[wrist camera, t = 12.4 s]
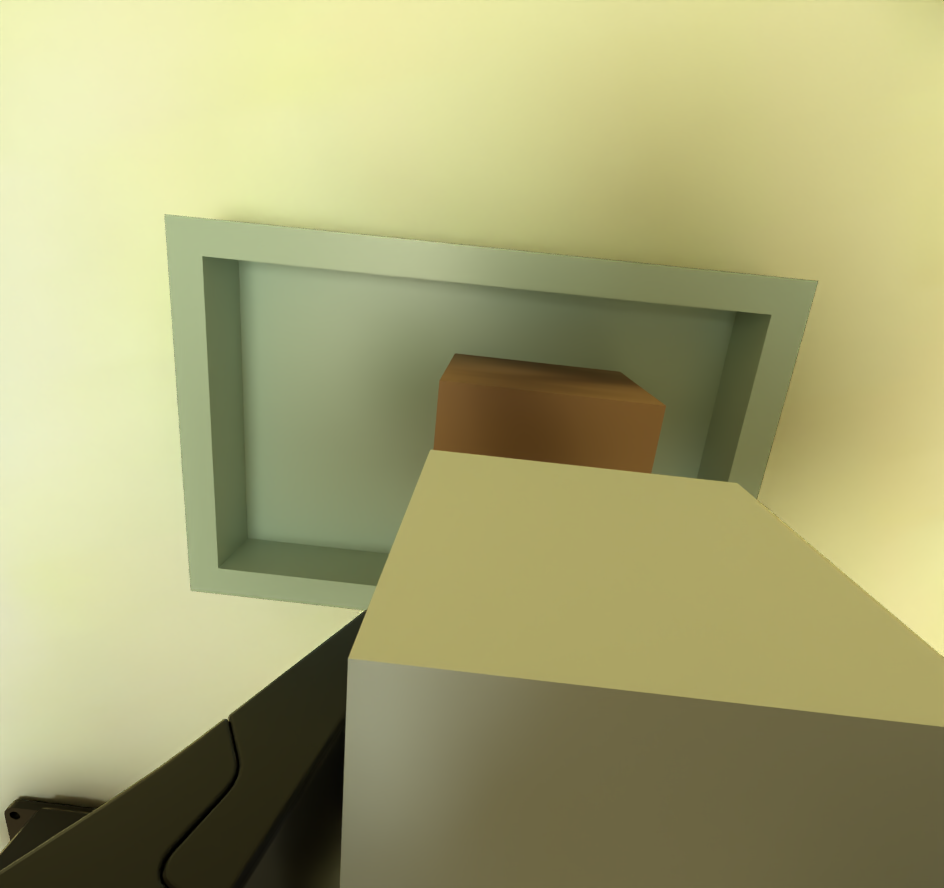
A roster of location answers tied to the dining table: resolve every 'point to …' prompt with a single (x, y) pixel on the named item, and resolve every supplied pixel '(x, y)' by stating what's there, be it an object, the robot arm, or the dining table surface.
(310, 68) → the dining table surface
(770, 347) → the tray
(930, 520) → the dining table surface
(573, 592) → the cube
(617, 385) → the walnut block
